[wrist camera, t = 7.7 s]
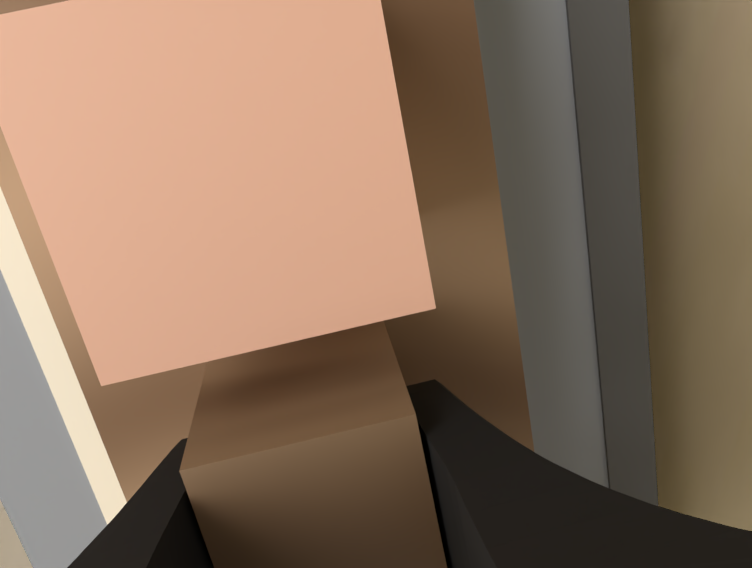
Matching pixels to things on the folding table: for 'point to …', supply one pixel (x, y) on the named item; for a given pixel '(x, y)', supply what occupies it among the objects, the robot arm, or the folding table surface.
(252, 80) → the block
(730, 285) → the folding table surface
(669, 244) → the folding table surface
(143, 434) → the pallet
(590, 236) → the dock
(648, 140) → the folding table surface
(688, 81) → the folding table surface
